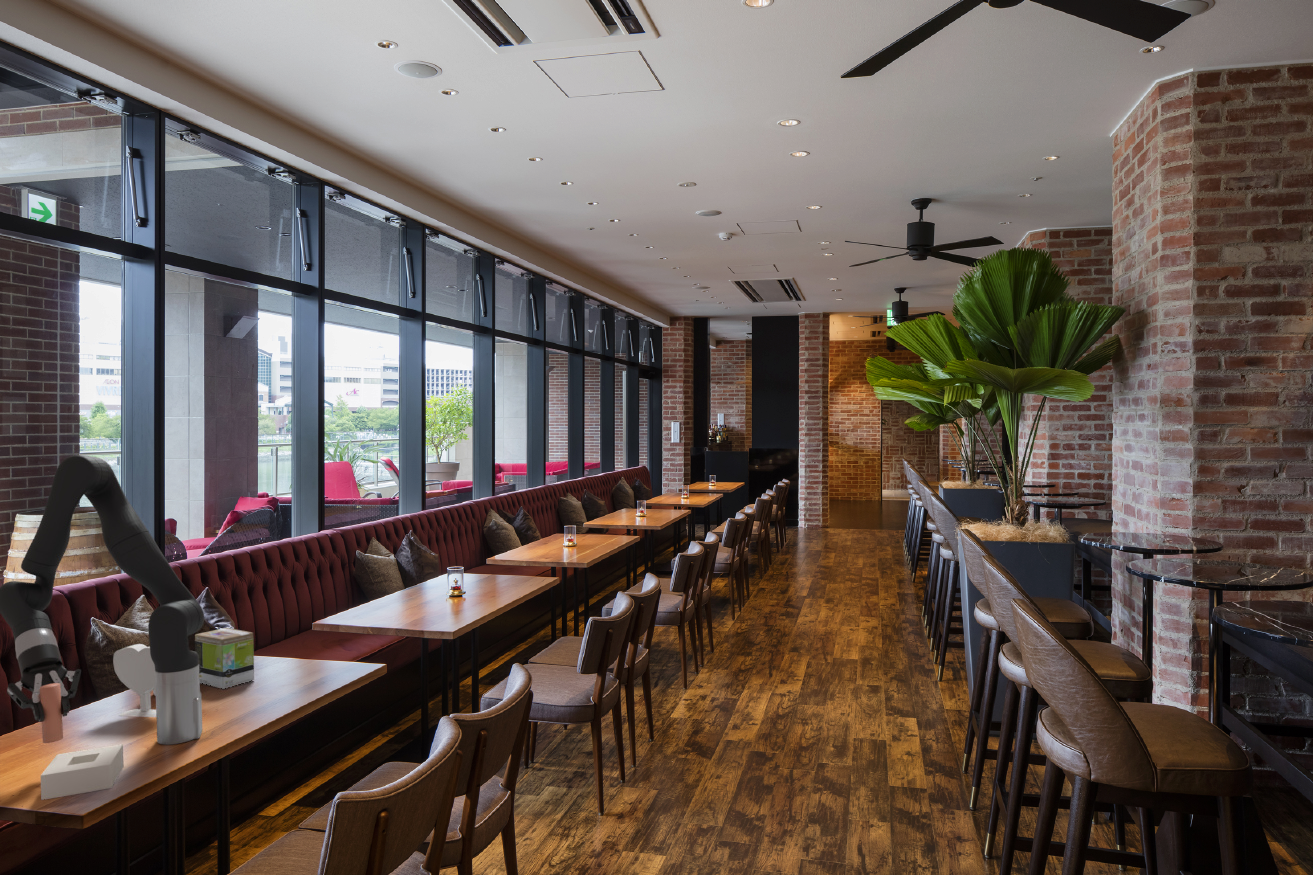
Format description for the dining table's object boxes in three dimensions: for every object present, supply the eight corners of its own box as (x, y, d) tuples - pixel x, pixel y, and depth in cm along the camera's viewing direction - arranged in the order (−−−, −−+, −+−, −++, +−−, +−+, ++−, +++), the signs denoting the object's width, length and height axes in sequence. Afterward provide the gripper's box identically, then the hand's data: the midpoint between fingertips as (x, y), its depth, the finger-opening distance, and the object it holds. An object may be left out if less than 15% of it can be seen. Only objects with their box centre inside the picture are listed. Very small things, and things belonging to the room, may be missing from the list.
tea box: (255, 680, 239) (254, 631, 239) (222, 690, 231) (221, 639, 231) (227, 673, 247) (226, 626, 247) (194, 682, 239) (193, 633, 239)
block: (123, 766, 178) (122, 744, 178) (111, 787, 167) (110, 764, 167) (58, 776, 173) (57, 754, 173) (41, 799, 162) (40, 775, 162)
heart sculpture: (178, 710, 214) (176, 643, 214) (164, 717, 209) (162, 648, 209) (127, 708, 217) (125, 642, 217) (112, 715, 212) (110, 647, 212)
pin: (65, 735, 178) (62, 682, 178) (60, 740, 175) (57, 686, 175) (45, 738, 177) (42, 684, 177) (40, 744, 174) (37, 689, 174)
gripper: (0, 650, 176) (15, 717, 168) (77, 636, 186) (95, 698, 178) (-4, 670, 179) (11, 736, 171) (73, 655, 190) (89, 716, 182)
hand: (54, 716), depth 175 cm, fingers closed on pin, 3 cm apart
